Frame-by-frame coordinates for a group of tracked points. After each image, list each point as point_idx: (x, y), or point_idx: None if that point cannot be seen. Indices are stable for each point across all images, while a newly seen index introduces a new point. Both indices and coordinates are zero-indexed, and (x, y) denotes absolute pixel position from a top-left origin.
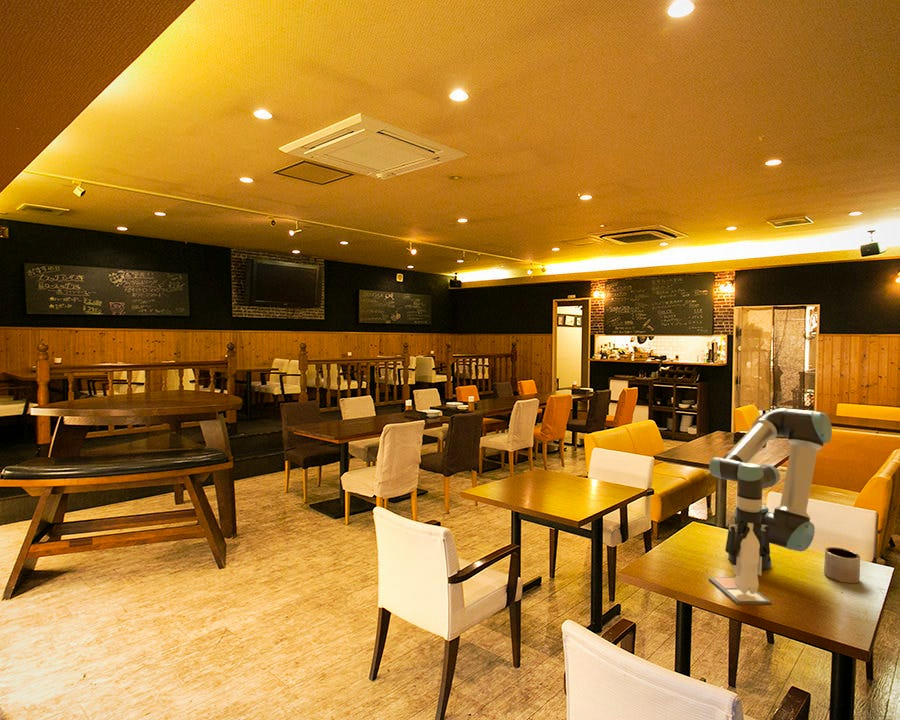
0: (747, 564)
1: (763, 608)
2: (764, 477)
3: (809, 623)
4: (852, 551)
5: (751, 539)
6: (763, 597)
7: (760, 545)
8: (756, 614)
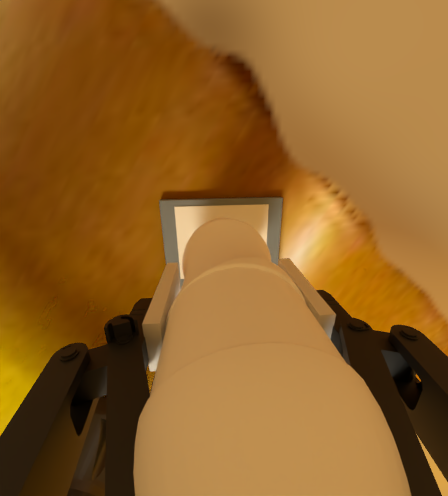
0: (274, 264)
1: (205, 169)
2: None
3: (89, 46)
4: None
5: None
6: (170, 229)
7: (124, 423)
8: (256, 125)
